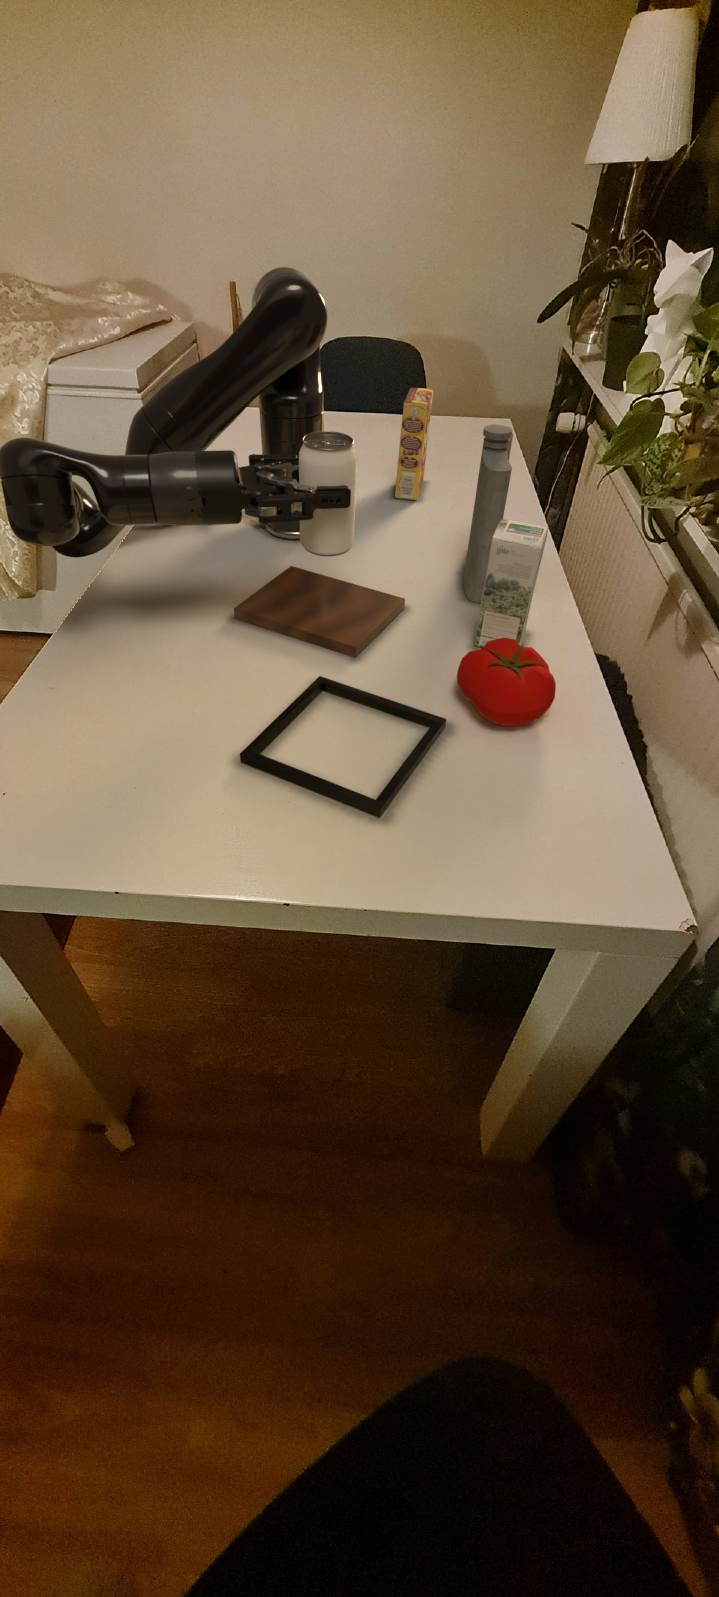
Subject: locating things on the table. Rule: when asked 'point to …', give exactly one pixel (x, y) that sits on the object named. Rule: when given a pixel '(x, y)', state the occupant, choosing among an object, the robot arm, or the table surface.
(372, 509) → the table surface
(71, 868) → the table surface
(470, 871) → the table surface
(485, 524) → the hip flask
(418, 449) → the candy box
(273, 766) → the black square frame
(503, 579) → the syrup box
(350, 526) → the can
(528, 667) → the tomato
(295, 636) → the board
